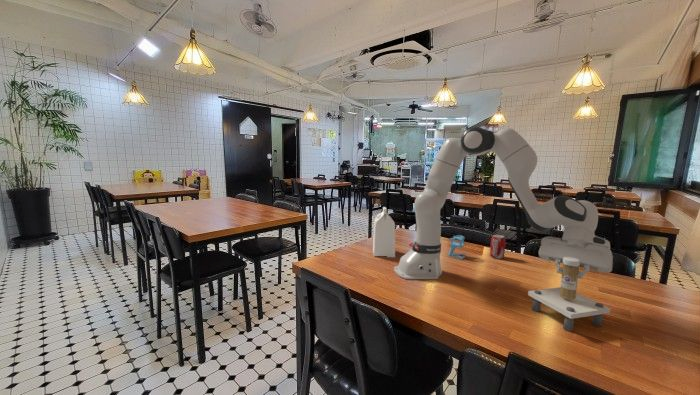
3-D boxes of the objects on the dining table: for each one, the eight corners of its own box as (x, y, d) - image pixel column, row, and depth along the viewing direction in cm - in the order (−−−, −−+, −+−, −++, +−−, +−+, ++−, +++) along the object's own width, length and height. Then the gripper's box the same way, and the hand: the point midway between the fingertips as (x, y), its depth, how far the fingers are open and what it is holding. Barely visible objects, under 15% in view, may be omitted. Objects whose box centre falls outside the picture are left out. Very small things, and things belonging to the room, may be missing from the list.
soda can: (505, 260, 156) (507, 238, 154) (491, 258, 157) (493, 237, 155) (501, 255, 163) (503, 234, 161) (488, 254, 164) (489, 233, 162)
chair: (451, 253, 166) (452, 232, 165) (466, 256, 161) (467, 234, 160) (446, 256, 160) (447, 235, 158) (462, 259, 155) (463, 238, 154)
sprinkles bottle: (558, 297, 99) (562, 259, 97) (560, 292, 102) (563, 255, 100) (575, 301, 96) (579, 262, 94) (576, 296, 99) (580, 258, 97)
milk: (395, 257, 158) (396, 210, 154) (374, 256, 158) (375, 209, 155) (392, 250, 170) (393, 206, 166) (372, 249, 170) (373, 206, 166)
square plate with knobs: (568, 333, 90) (571, 312, 89) (526, 307, 106) (528, 289, 105) (607, 327, 94) (610, 306, 93) (561, 303, 110) (563, 285, 109)
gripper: (542, 230, 108) (532, 262, 103) (616, 242, 94) (610, 279, 89) (543, 239, 112) (534, 271, 107) (614, 252, 98) (608, 289, 93)
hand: (569, 275), depth 98 cm, fingers closed on sprinkles bottle, 4 cm apart
